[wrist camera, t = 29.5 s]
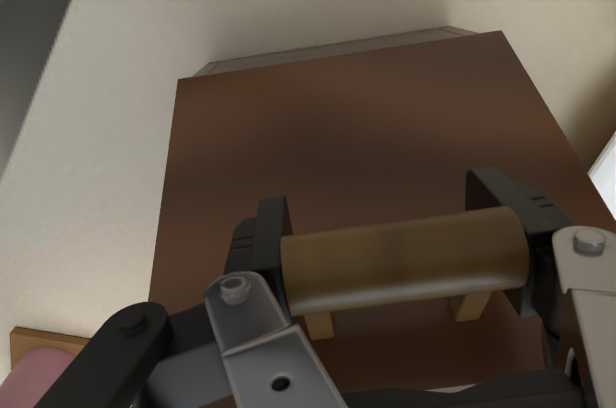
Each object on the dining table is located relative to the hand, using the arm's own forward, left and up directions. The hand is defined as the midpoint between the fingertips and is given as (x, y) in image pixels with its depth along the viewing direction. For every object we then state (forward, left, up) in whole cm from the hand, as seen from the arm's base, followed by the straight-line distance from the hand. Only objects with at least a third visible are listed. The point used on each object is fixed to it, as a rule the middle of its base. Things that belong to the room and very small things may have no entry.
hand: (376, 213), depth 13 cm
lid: (0, -1, -4) cm, 4 cm away
